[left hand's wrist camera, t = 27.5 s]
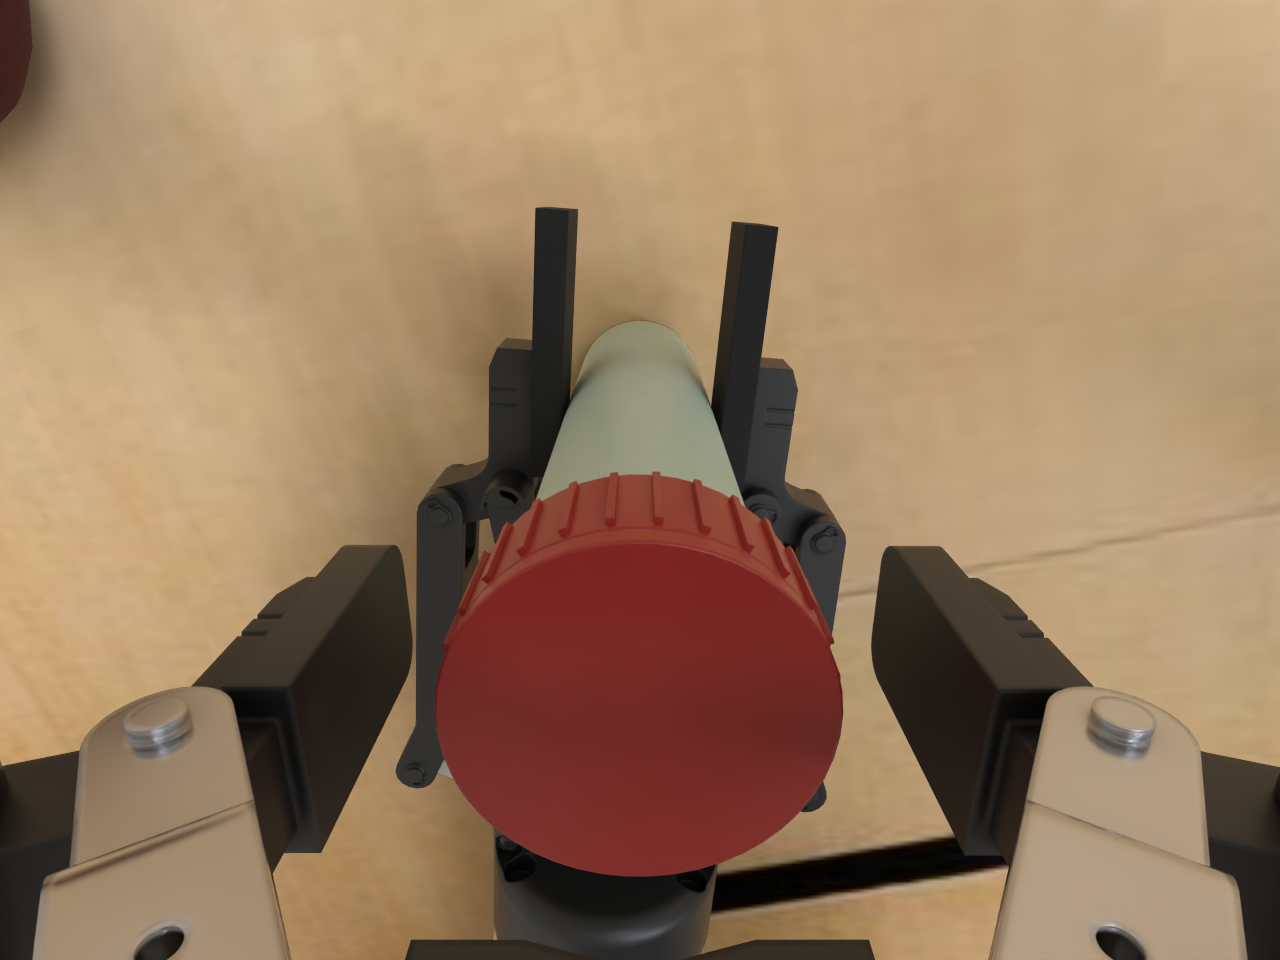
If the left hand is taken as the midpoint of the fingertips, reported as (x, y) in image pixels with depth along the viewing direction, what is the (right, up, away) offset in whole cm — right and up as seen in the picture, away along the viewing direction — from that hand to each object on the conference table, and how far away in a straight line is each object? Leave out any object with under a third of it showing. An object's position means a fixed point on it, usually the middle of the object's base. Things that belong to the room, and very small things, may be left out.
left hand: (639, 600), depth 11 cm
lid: (0, -1, -2) cm, 2 cm away
